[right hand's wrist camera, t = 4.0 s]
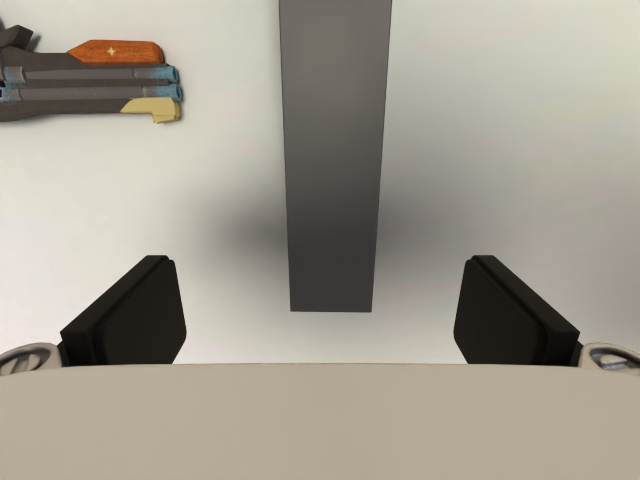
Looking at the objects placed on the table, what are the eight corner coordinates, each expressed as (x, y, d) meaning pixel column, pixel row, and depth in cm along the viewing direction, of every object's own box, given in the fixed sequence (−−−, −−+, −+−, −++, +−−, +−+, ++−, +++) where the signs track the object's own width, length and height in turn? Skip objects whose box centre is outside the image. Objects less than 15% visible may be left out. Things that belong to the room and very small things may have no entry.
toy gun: (-259, -93, 16) (-175, 127, 19) (148, -91, 17) (174, 121, 20) (-181, -60, 19) (-118, 129, 22) (168, -59, 20) (189, 124, 22)
